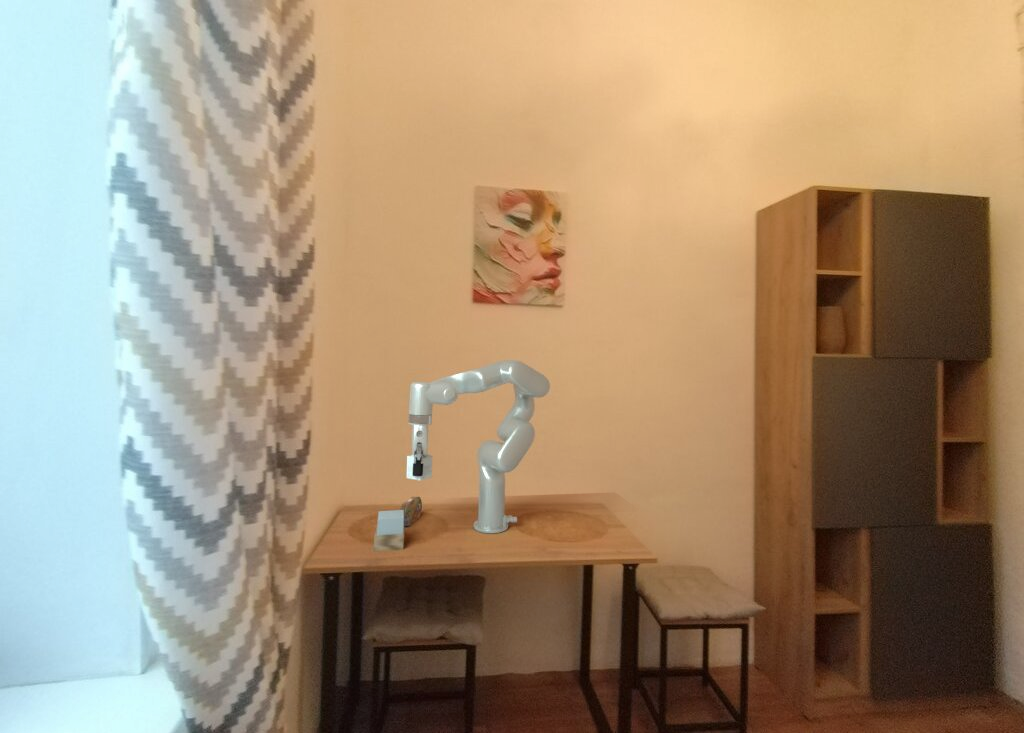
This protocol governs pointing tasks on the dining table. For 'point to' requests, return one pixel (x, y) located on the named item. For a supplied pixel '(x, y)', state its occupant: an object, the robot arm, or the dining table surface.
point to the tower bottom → (388, 541)
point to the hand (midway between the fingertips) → (417, 472)
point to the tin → (411, 510)
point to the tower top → (390, 522)
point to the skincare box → (426, 467)
